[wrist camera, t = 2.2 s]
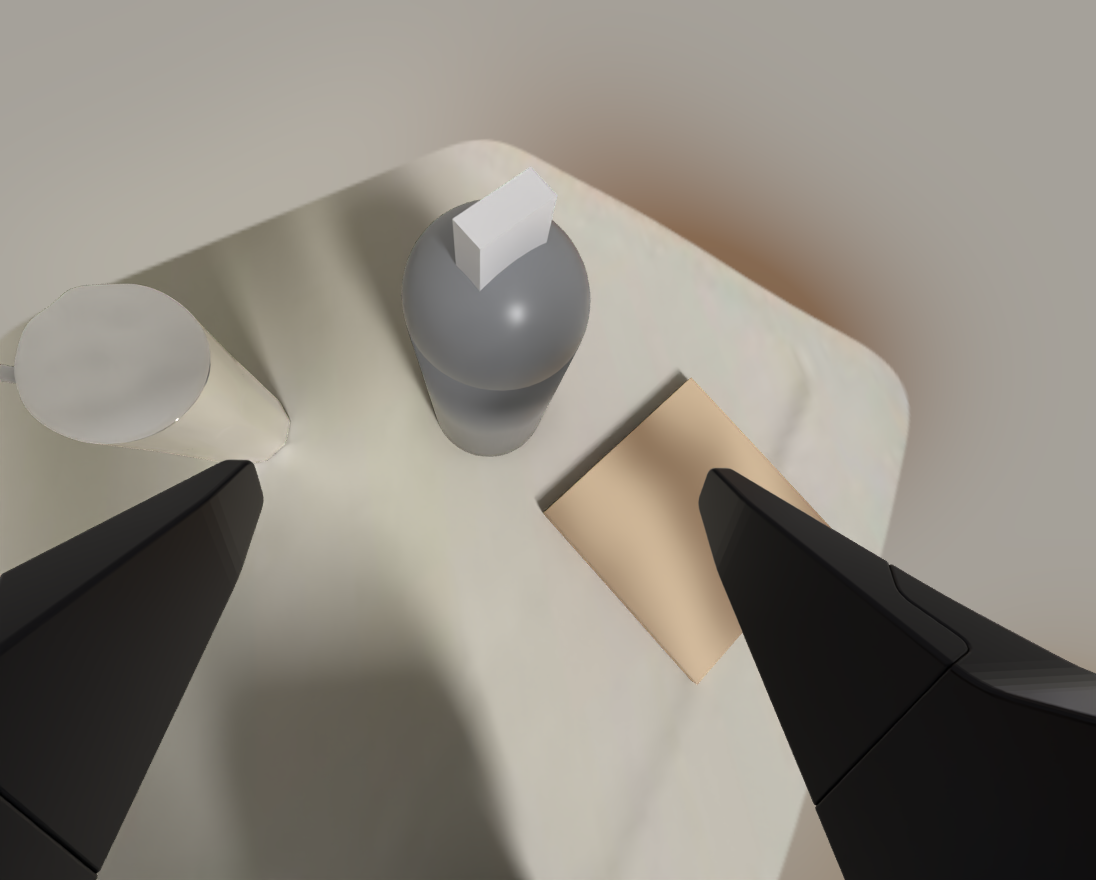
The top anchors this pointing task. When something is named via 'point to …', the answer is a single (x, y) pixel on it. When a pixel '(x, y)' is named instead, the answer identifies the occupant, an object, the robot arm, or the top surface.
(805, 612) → the robot arm
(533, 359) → the grey bottle
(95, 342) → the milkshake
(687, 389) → the cork mat
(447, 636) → the top surface
